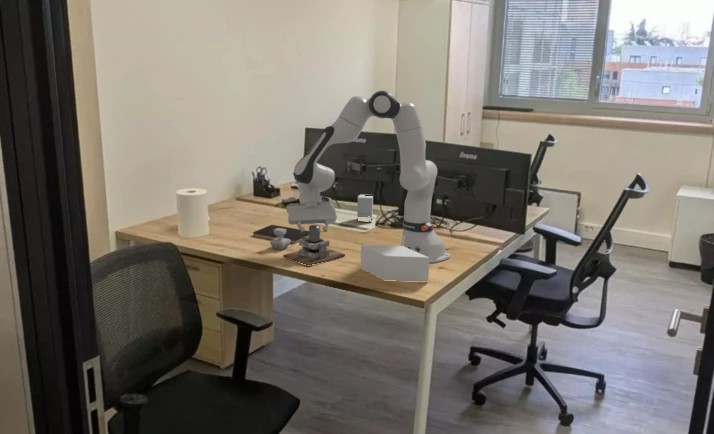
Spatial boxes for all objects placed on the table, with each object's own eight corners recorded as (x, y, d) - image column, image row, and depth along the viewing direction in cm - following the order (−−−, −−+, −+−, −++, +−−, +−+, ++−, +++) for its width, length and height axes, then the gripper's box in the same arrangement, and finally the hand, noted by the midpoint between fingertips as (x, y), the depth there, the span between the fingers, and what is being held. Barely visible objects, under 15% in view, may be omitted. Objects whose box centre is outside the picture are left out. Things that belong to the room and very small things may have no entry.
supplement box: (372, 219, 334) (373, 194, 331) (371, 222, 327) (372, 198, 323) (358, 218, 335) (358, 194, 331) (356, 222, 327) (357, 197, 324)
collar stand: (345, 256, 275) (345, 240, 273) (308, 266, 261) (308, 250, 259) (319, 247, 286) (319, 232, 284) (283, 257, 272) (283, 241, 270)
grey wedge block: (420, 289, 241) (421, 262, 238) (351, 274, 254) (351, 249, 252) (435, 277, 253) (437, 252, 250) (369, 264, 266) (370, 239, 264)
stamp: (281, 252, 279) (281, 233, 277) (268, 249, 281) (268, 230, 279) (292, 246, 287) (292, 227, 285) (279, 244, 289) (279, 225, 287)
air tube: (321, 253, 275) (322, 225, 272) (317, 256, 270) (317, 228, 267) (311, 252, 276) (311, 224, 273) (306, 255, 272) (307, 227, 269)
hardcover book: (295, 245, 290) (295, 240, 290) (252, 237, 301) (252, 232, 300) (314, 236, 304) (314, 231, 304) (272, 228, 314) (272, 224, 314)
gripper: (286, 199, 273) (289, 229, 267) (334, 198, 278) (339, 226, 271) (285, 207, 279) (288, 236, 272) (332, 206, 283) (337, 234, 276)
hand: (314, 231), depth 272 cm, fingers open, 8 cm apart
